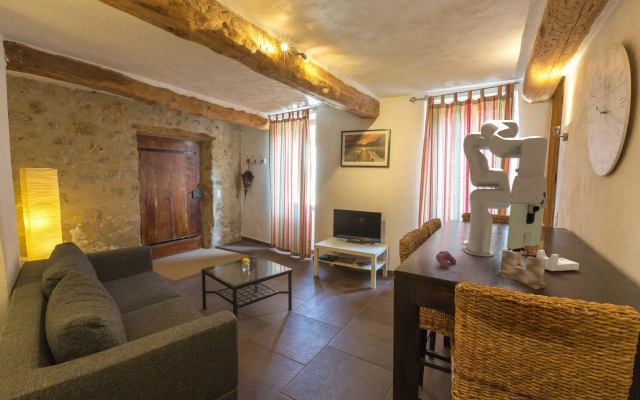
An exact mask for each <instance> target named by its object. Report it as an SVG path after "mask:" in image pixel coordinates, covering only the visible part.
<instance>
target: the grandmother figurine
mask: <svg viewBox="0 0 640 400" xmlns="http://www.w3.org/2000/svg"><path fill="white" fill-rule="evenodd" d="M506 250H510V251H513V252H517V253H518V260H517V266H520V267H522V254H521V250H522V251H523V252H524V254H523V255H526V254H527V253H526V250H525V249H524V247H523V248H517V249H509V248H507V249H506Z"/></svg>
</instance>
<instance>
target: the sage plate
mask: <svg viewBox="0 0 640 400" xmlns="http://www.w3.org/2000/svg"><path fill="white" fill-rule="evenodd" d="M529 205H530V204H524V203H515V204H511V205H510V206H509V219H508V228H507V241H506V248H507V249H508V248H509V249H517V248H523V238H524V233H525V243H524V245H527V246H535V245H540V236H541V226H542V224H543V216H544V209H540V210H539V211H537V213H535V219H534V222H533V224H526V221H527V213H529ZM540 205H541V204H538V206H540Z"/></svg>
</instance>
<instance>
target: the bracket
mask: <svg viewBox="0 0 640 400" xmlns="http://www.w3.org/2000/svg"><path fill="white" fill-rule="evenodd" d="M536 258H539V259H542V260H545V269H544V270H548V271H551V272H557V271H558V272H559V271H561V272H562V271H574V270H575V271H578V270H579V266H580V263H578V262H576V261H573V260H570V259H567V258H564V257H560V255H559V254H557V253H556V254H555V253H552V254H550V257H548V256H547V255H546V253H545V250H544V249H543V250H537V256H536Z"/></svg>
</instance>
